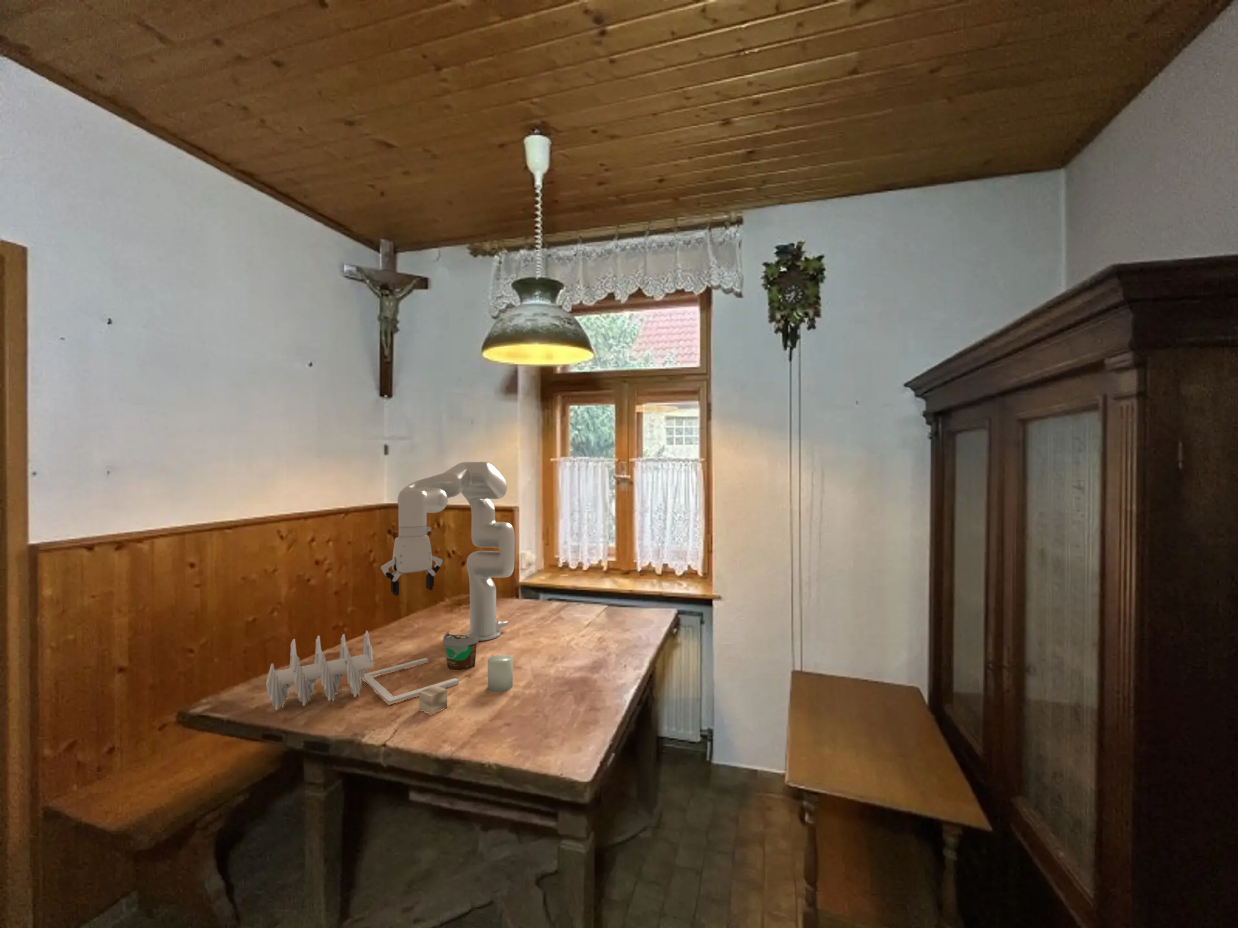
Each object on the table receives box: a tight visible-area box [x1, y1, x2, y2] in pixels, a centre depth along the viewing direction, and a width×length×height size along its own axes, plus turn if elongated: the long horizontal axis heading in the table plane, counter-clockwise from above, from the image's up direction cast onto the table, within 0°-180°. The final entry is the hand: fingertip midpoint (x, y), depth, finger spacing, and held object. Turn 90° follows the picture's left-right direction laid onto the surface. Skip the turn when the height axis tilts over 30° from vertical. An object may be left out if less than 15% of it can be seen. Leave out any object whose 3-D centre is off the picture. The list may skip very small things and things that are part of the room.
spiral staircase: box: [265, 630, 374, 711], centre depth 146 cm, size 18×18×25 cm
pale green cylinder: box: [487, 654, 514, 693], centre depth 154 cm, size 7×7×8 cm
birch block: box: [418, 684, 448, 714], centre depth 140 cm, size 5×5×5 cm
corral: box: [362, 657, 460, 703], centre depth 158 cm, size 20×24×1 cm
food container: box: [442, 631, 479, 671], centre depth 168 cm, size 12×6×10 cm, turn 68°
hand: (412, 591), depth 152 cm, fingers open, 9 cm apart
